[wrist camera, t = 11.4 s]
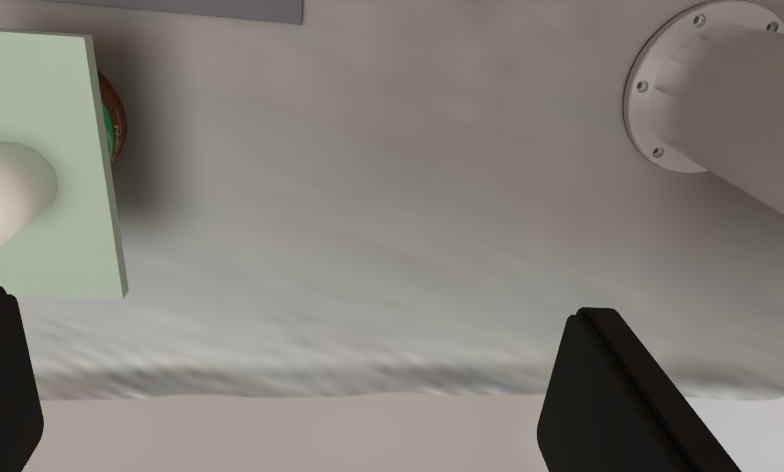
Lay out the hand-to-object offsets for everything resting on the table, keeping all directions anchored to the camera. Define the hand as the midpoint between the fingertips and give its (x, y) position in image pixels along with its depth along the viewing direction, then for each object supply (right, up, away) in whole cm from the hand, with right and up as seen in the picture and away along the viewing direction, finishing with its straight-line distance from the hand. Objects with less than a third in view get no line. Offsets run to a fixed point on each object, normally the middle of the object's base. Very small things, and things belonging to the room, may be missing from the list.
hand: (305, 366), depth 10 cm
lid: (-19, +6, +21) cm, 29 cm away
